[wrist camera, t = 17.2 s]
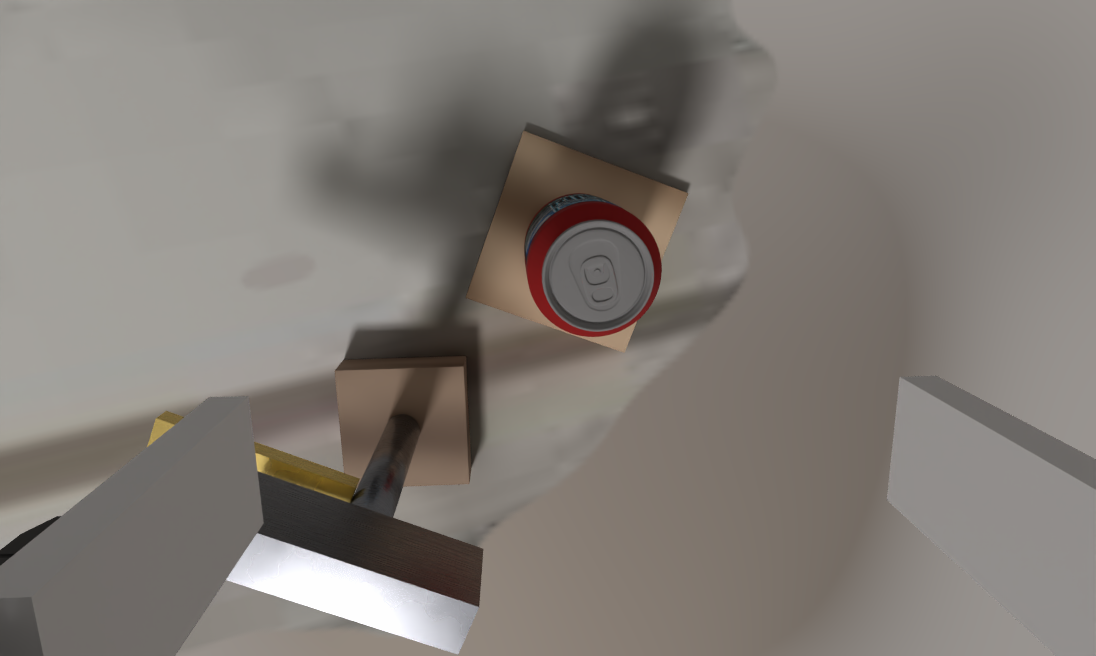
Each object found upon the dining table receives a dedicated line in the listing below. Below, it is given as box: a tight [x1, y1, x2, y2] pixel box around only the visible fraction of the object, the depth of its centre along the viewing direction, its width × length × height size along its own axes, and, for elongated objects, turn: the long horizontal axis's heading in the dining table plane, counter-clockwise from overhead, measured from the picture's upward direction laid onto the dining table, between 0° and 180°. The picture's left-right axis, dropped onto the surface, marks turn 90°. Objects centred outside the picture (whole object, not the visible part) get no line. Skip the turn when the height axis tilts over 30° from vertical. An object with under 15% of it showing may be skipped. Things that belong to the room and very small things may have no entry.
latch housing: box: [335, 356, 471, 487], centre depth 47 cm, size 8×8×2 cm
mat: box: [466, 131, 688, 352], centre depth 46 cm, size 11×11×1 cm
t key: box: [147, 411, 483, 654], centre depth 37 cm, size 16×2×17 cm, turn 68°
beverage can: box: [524, 193, 662, 337], centre depth 40 cm, size 7×7×12 cm
